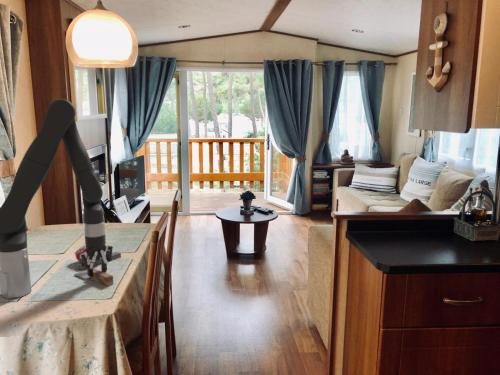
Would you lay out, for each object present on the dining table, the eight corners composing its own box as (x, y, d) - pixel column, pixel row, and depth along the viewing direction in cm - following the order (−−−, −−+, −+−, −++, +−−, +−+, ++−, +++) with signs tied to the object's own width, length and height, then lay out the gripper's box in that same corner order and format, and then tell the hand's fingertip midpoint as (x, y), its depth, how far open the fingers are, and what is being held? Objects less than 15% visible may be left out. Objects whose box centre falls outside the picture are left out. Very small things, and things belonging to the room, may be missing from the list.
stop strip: (81, 270, 177) (81, 265, 176) (77, 268, 178) (77, 264, 178) (121, 257, 192) (120, 253, 192) (117, 255, 194) (116, 251, 194)
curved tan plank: (117, 282, 164) (116, 274, 163) (103, 288, 159) (103, 279, 158) (87, 271, 175) (87, 263, 175) (74, 275, 171) (74, 267, 170)
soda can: (96, 248, 179) (72, 256, 181) (105, 259, 183) (82, 266, 185) (100, 237, 185) (76, 245, 187) (109, 247, 189) (86, 254, 191)
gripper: (83, 239, 155) (86, 282, 158) (116, 231, 166) (118, 271, 169) (72, 236, 159) (75, 278, 162) (105, 227, 171) (107, 267, 174)
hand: (97, 274), depth 166 cm, fingers open, 5 cm apart
